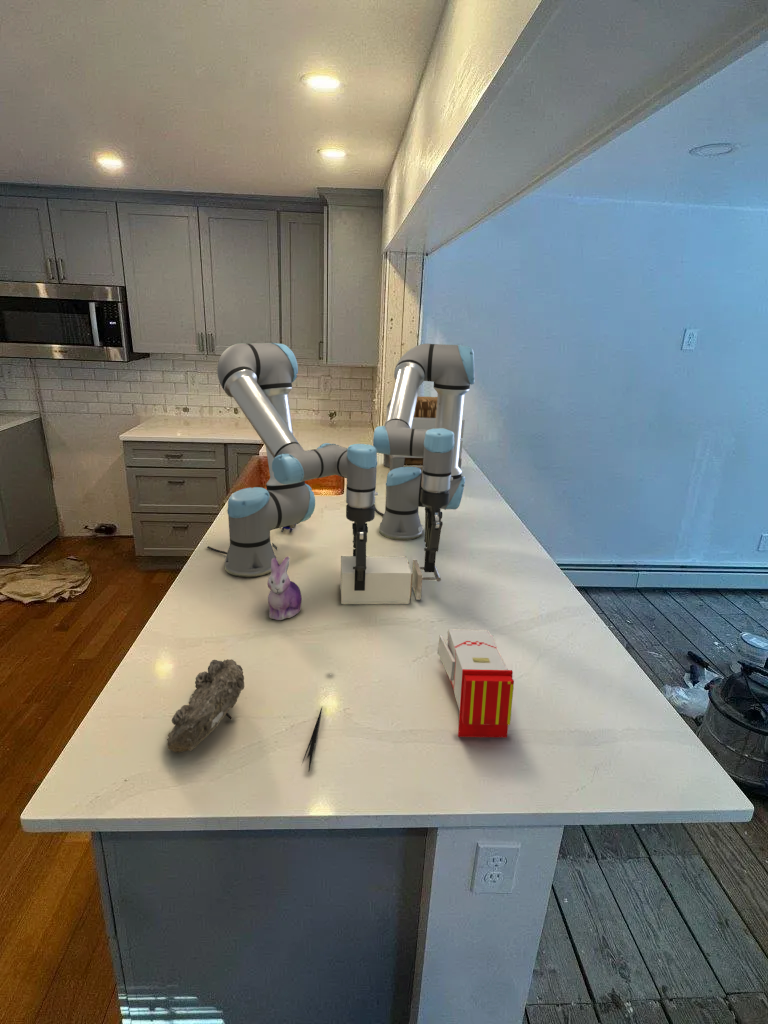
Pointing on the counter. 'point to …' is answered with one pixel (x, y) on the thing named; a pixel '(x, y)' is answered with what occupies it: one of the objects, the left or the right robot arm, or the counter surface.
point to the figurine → (282, 592)
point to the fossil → (206, 705)
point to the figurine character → (288, 527)
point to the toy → (478, 682)
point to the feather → (313, 740)
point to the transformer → (421, 420)
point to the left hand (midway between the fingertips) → (358, 580)
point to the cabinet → (377, 580)
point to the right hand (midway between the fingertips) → (429, 571)
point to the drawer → (420, 579)
